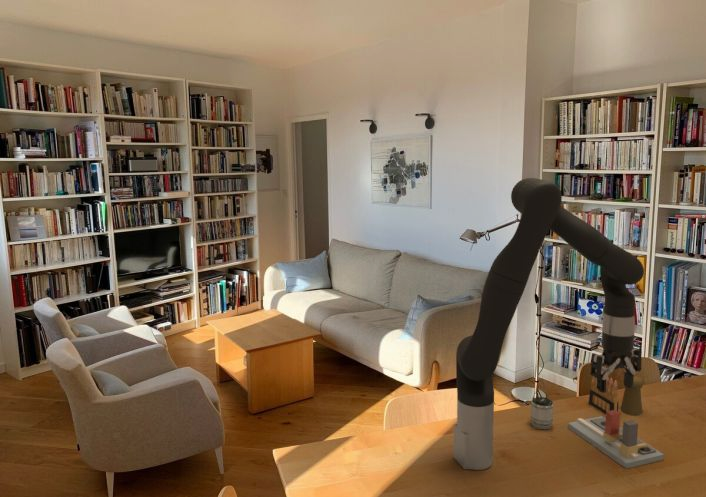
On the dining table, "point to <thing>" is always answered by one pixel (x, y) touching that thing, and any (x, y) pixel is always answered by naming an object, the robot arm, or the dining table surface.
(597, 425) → the grey slider track base
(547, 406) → the camera lens
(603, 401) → the ammunition clip
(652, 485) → the dining table surface
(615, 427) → the red slider with pointer
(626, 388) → the olive pepper mill
